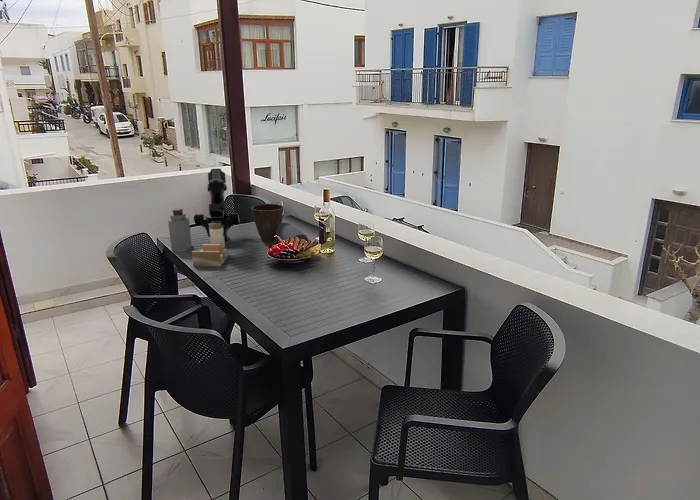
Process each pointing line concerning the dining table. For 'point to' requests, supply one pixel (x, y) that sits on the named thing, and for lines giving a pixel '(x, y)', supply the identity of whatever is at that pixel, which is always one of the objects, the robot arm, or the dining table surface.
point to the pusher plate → (211, 247)
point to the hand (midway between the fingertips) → (216, 236)
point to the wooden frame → (209, 257)
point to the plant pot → (267, 220)
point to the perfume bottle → (179, 231)
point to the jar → (217, 234)
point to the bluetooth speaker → (289, 232)
